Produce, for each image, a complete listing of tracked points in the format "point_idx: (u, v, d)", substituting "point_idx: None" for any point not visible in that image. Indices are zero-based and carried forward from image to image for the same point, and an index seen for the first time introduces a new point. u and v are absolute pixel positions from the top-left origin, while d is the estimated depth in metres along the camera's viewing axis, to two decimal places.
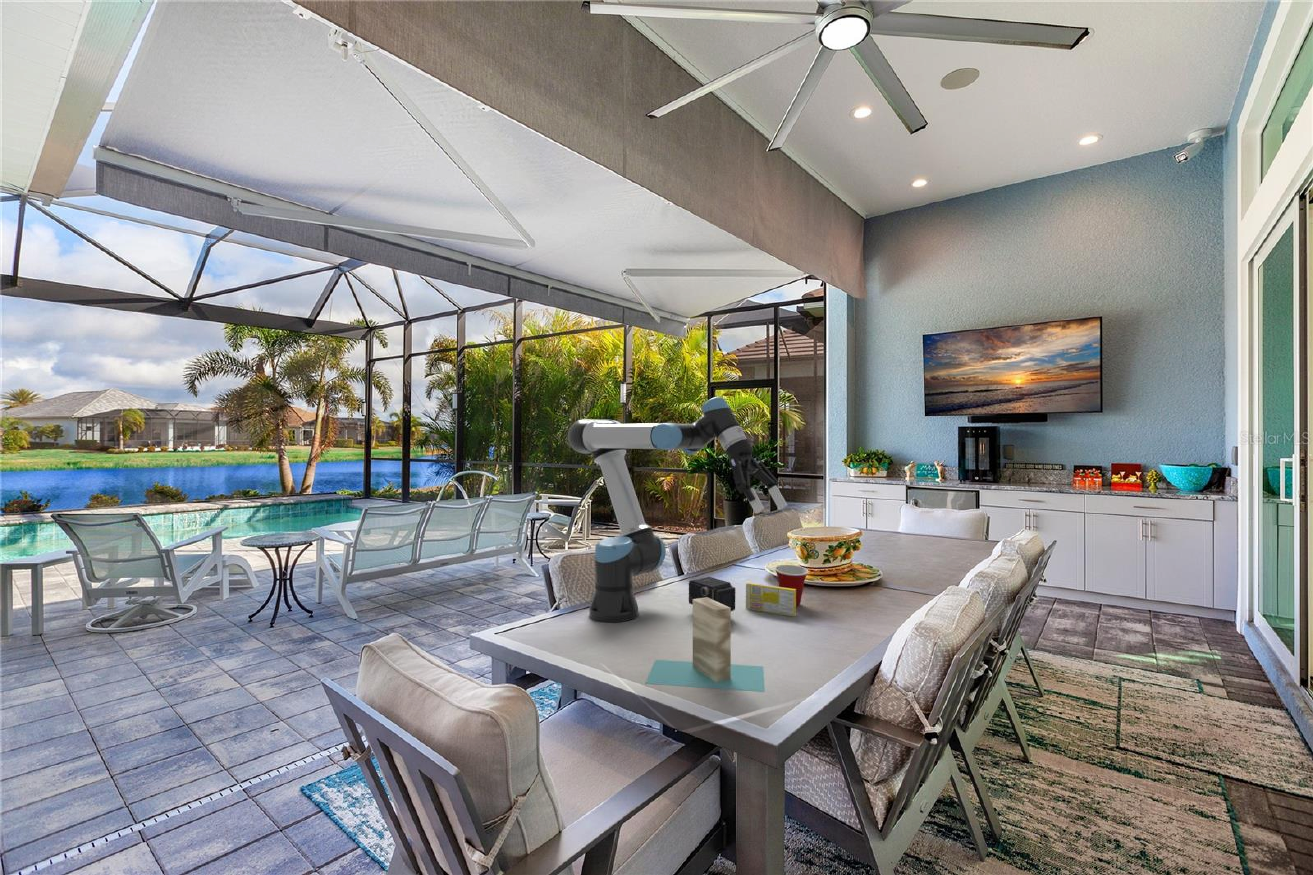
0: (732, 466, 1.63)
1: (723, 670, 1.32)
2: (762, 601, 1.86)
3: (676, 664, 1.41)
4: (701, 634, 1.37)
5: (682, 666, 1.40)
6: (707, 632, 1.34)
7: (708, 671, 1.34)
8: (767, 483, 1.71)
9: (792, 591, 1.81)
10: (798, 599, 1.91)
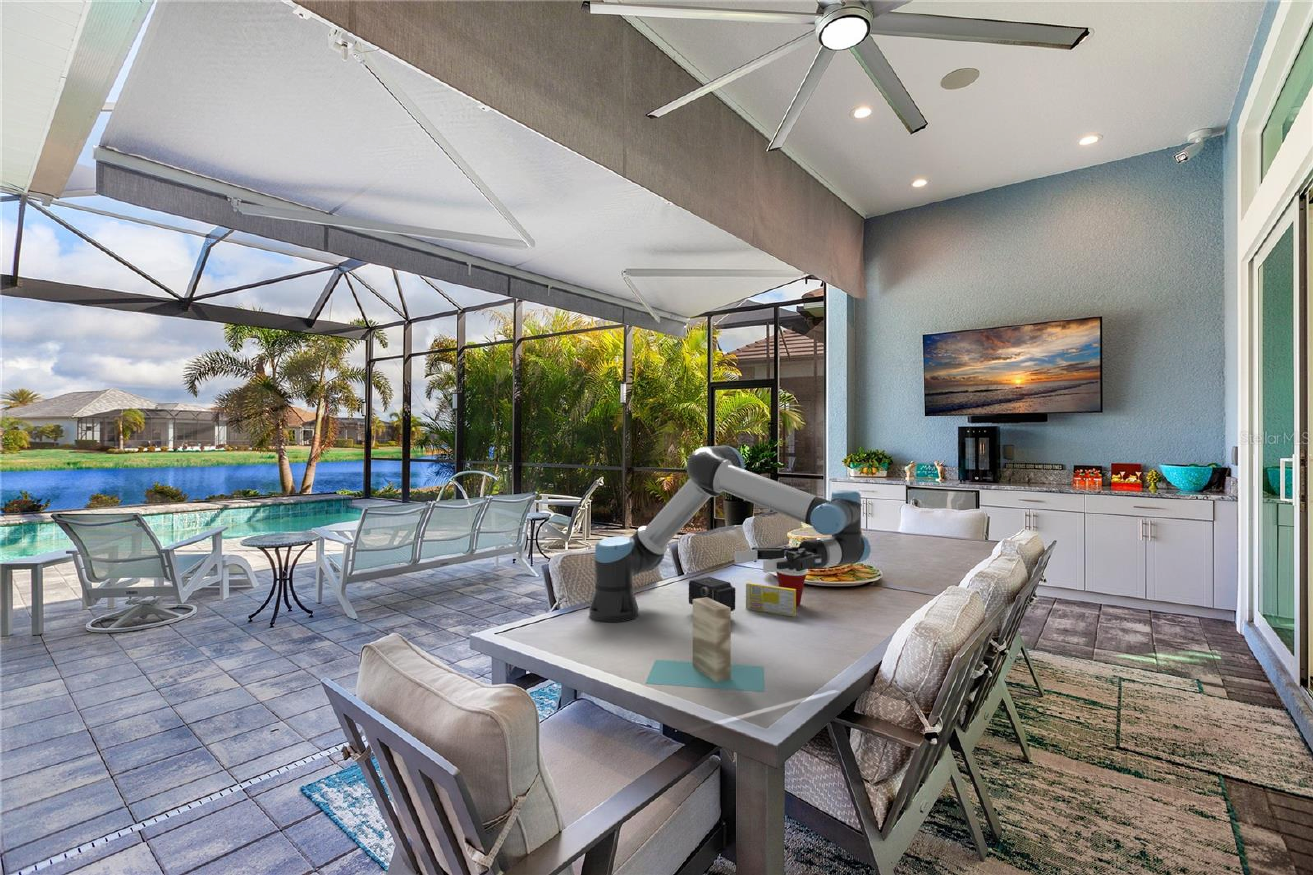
0: (815, 558, 1.43)
1: (723, 670, 1.32)
2: (762, 601, 1.86)
3: (676, 664, 1.41)
4: (701, 634, 1.37)
5: (682, 666, 1.40)
6: (707, 632, 1.34)
7: (708, 671, 1.34)
8: (763, 553, 1.50)
9: (792, 591, 1.81)
10: (798, 599, 1.91)
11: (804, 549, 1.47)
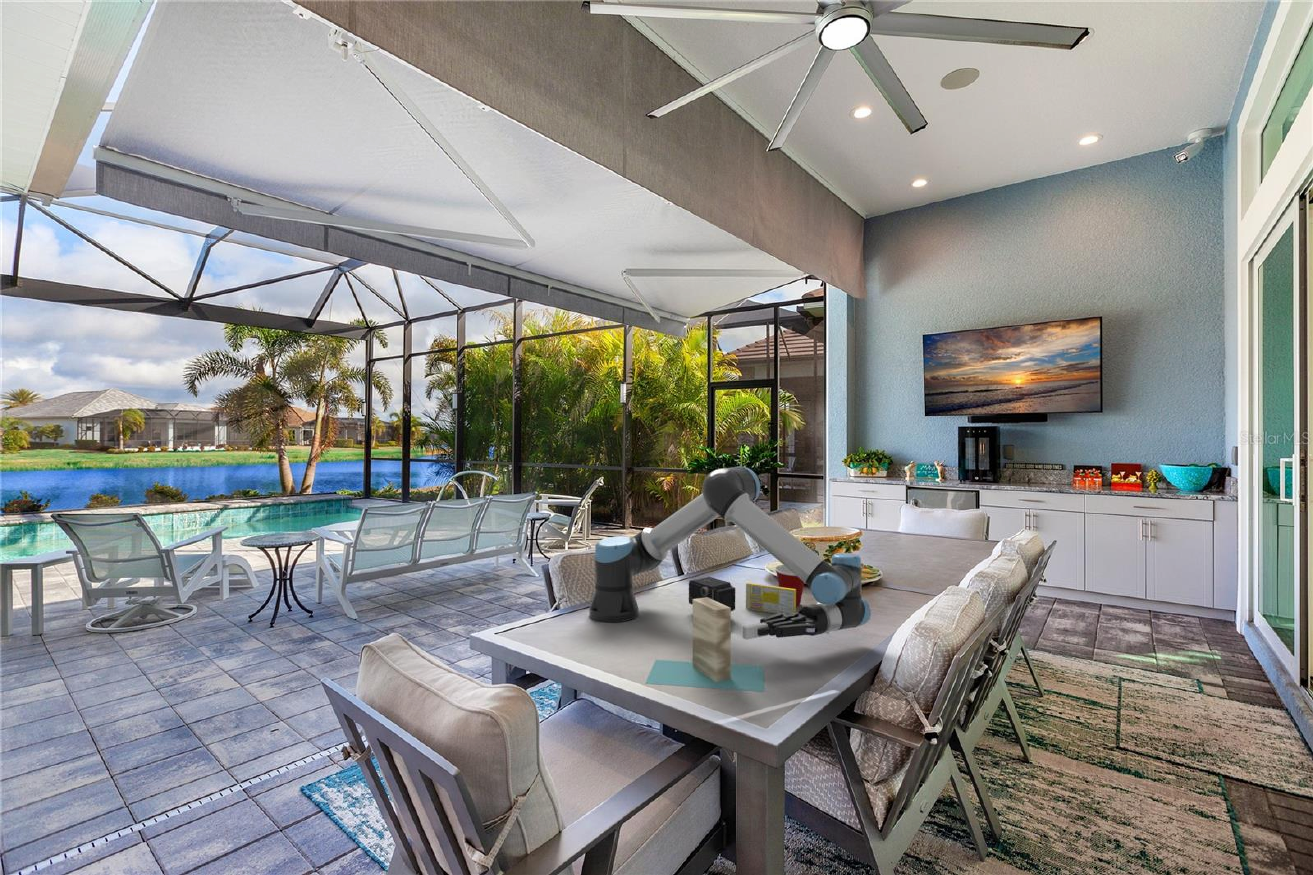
0: (806, 627, 1.43)
1: (723, 670, 1.32)
2: (762, 601, 1.86)
3: (676, 664, 1.41)
4: (701, 634, 1.37)
5: (682, 666, 1.40)
6: (707, 632, 1.34)
7: (708, 671, 1.34)
8: None
9: (792, 591, 1.81)
10: (798, 599, 1.91)
11: (802, 616, 1.47)
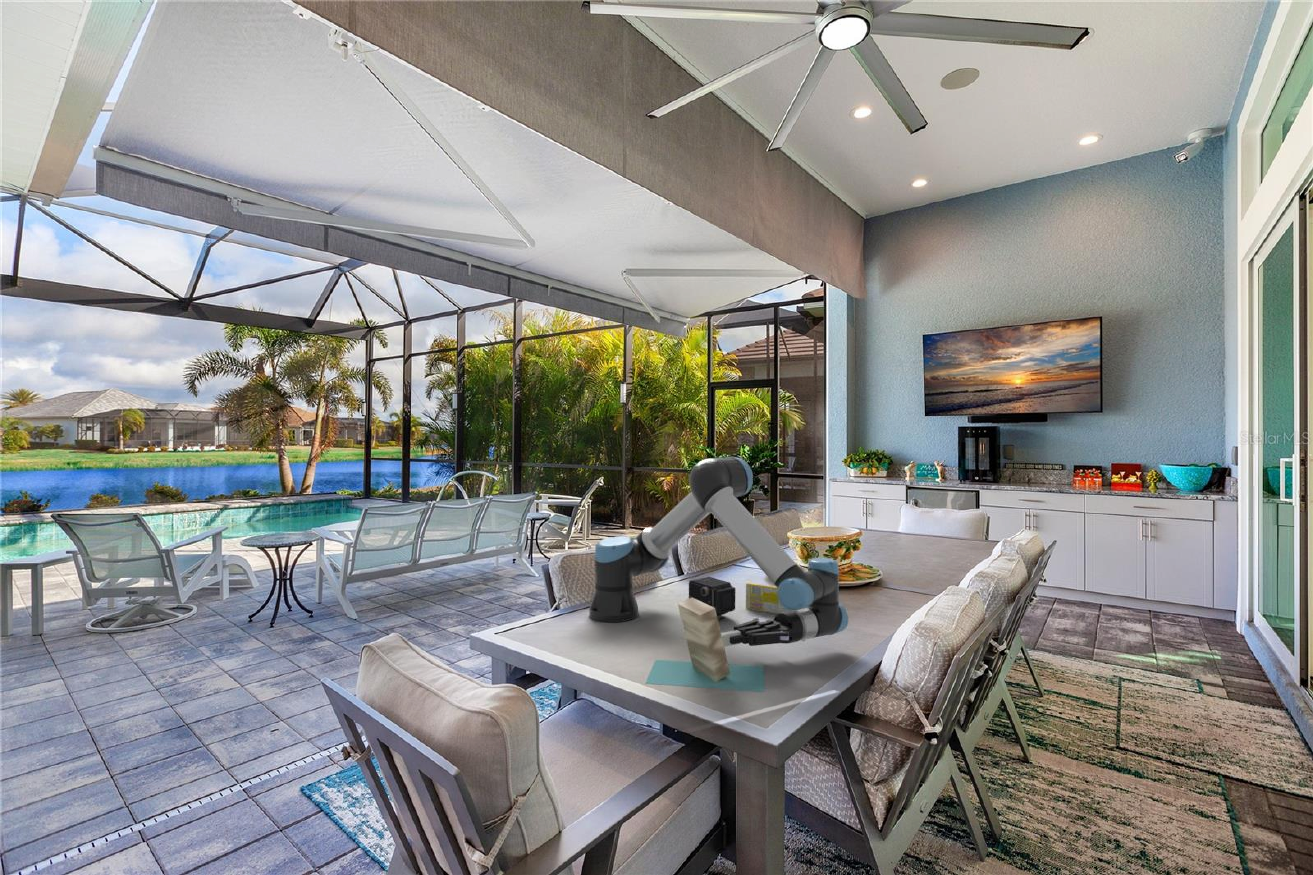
0: (780, 635, 1.39)
1: (721, 669, 1.32)
2: (762, 601, 1.86)
3: (676, 664, 1.41)
4: (693, 637, 1.35)
5: (682, 666, 1.40)
6: (698, 635, 1.33)
7: (707, 672, 1.34)
8: None
9: None
10: None
11: (777, 624, 1.43)
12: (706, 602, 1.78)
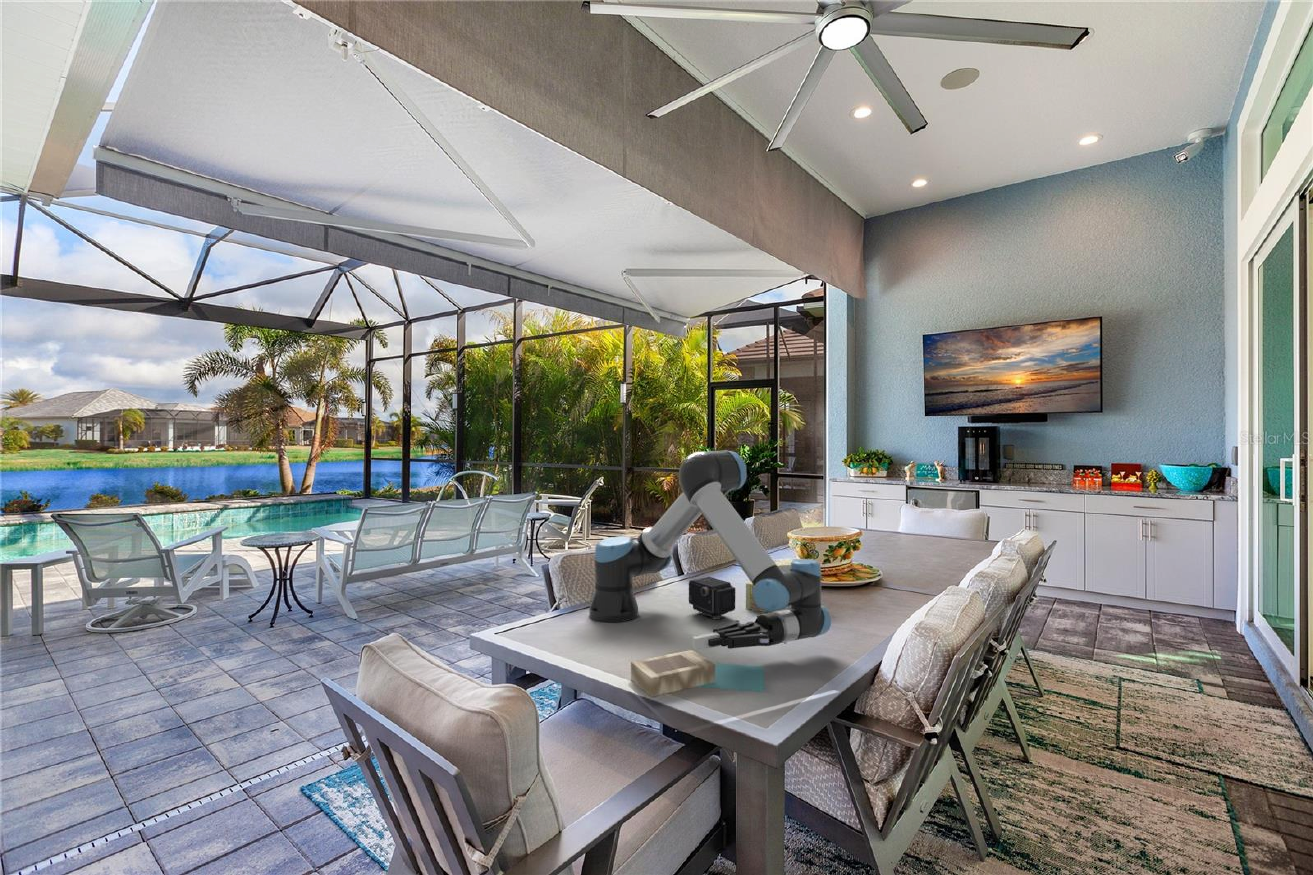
0: (760, 637, 1.37)
1: (706, 674, 1.30)
2: None
3: None
4: None
5: None
6: None
7: None
8: None
9: None
10: None
11: (757, 626, 1.41)
12: (706, 602, 1.78)
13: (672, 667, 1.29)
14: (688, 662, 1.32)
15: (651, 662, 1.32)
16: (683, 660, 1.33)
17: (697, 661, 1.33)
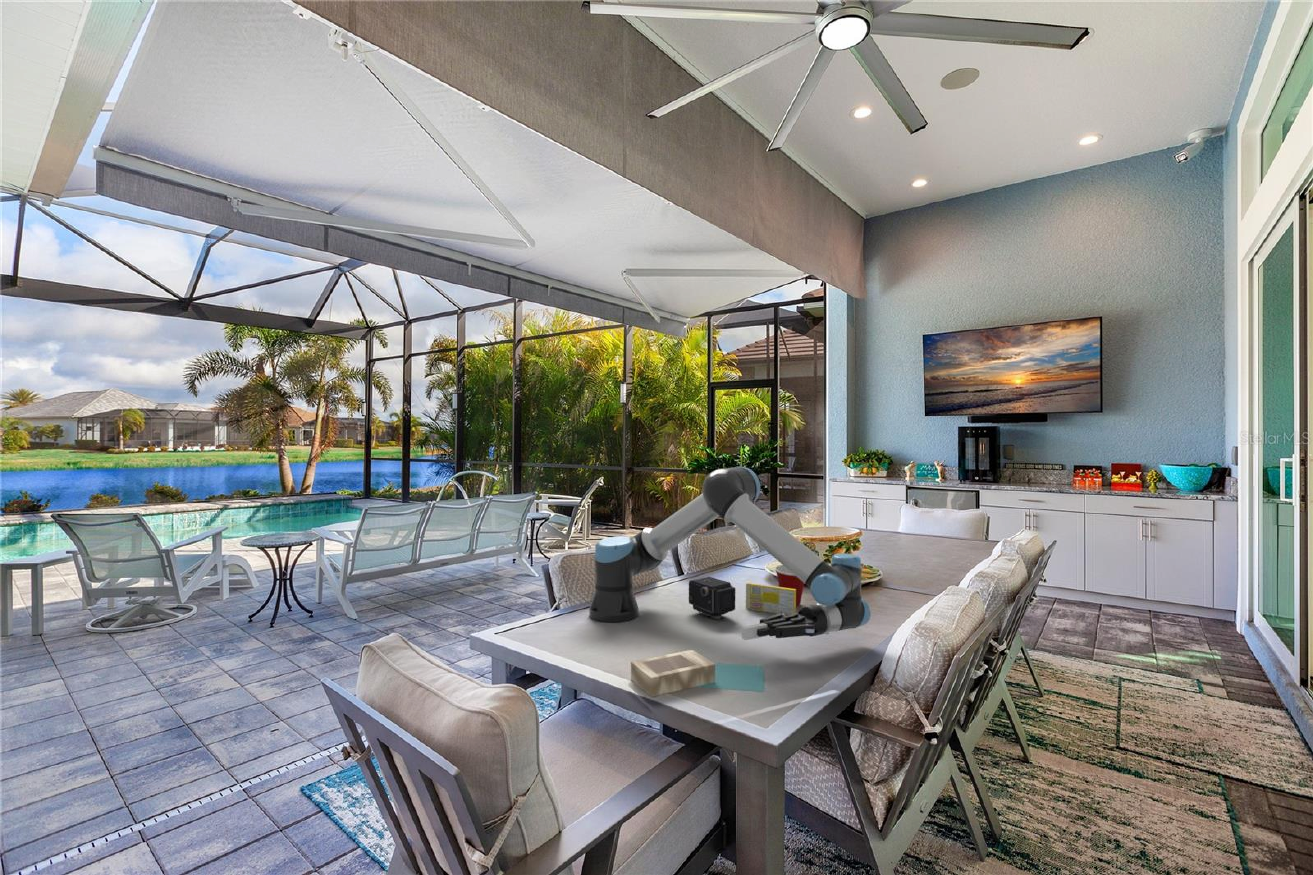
0: (806, 627, 1.43)
1: (706, 674, 1.30)
2: (762, 601, 1.86)
3: None
4: None
5: None
6: None
7: None
8: None
9: (792, 591, 1.81)
10: (798, 599, 1.91)
11: (802, 617, 1.47)
12: (706, 602, 1.78)
13: (672, 667, 1.29)
14: (688, 662, 1.32)
15: (651, 662, 1.32)
16: (683, 660, 1.33)
17: (697, 661, 1.33)
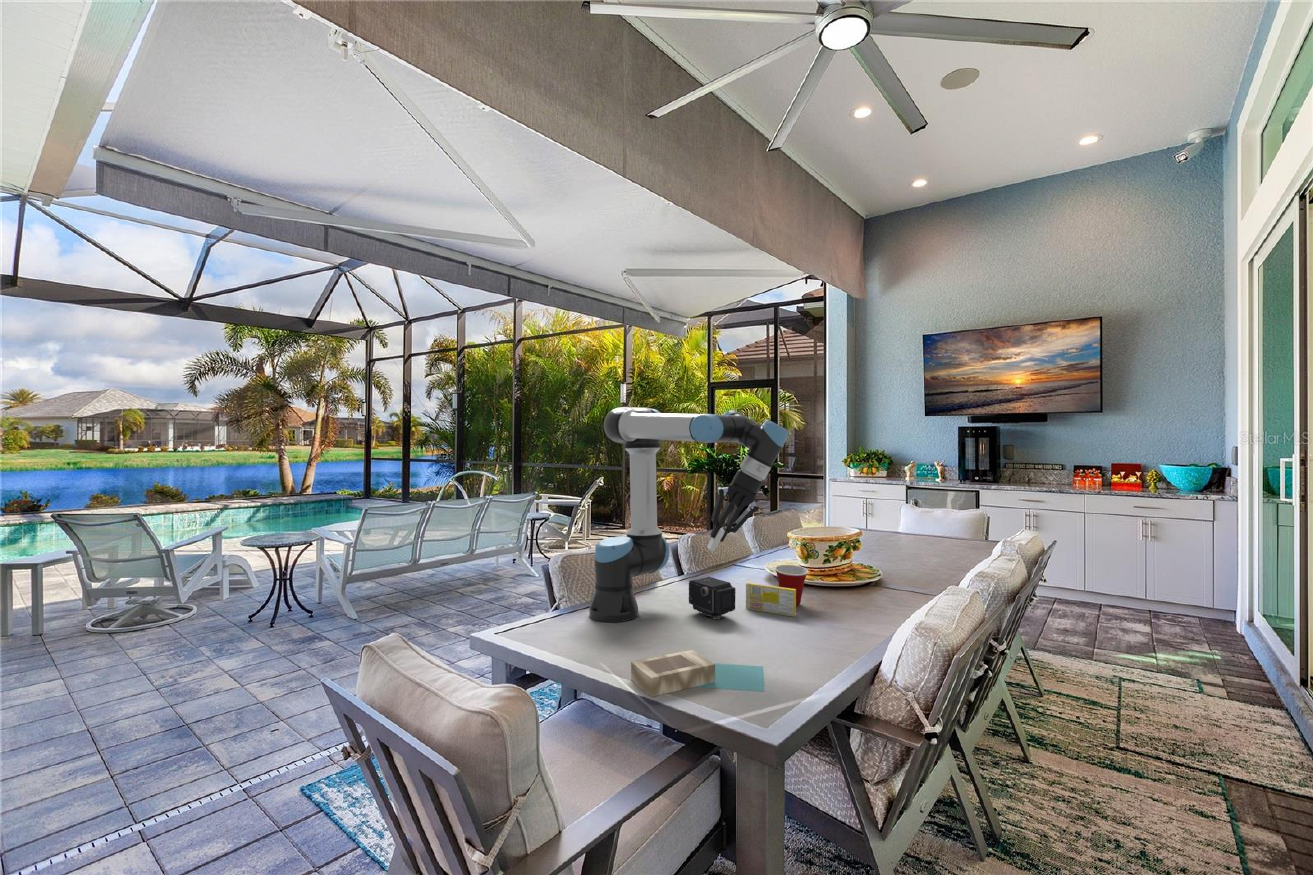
0: (718, 494, 1.61)
1: (706, 674, 1.30)
2: (762, 601, 1.86)
3: None
4: None
5: None
6: None
7: None
8: (727, 522, 1.63)
9: (792, 591, 1.81)
10: (798, 599, 1.91)
11: None
12: (706, 602, 1.78)
13: (672, 667, 1.29)
14: (688, 662, 1.32)
15: (651, 662, 1.32)
16: (683, 660, 1.33)
17: (697, 661, 1.33)
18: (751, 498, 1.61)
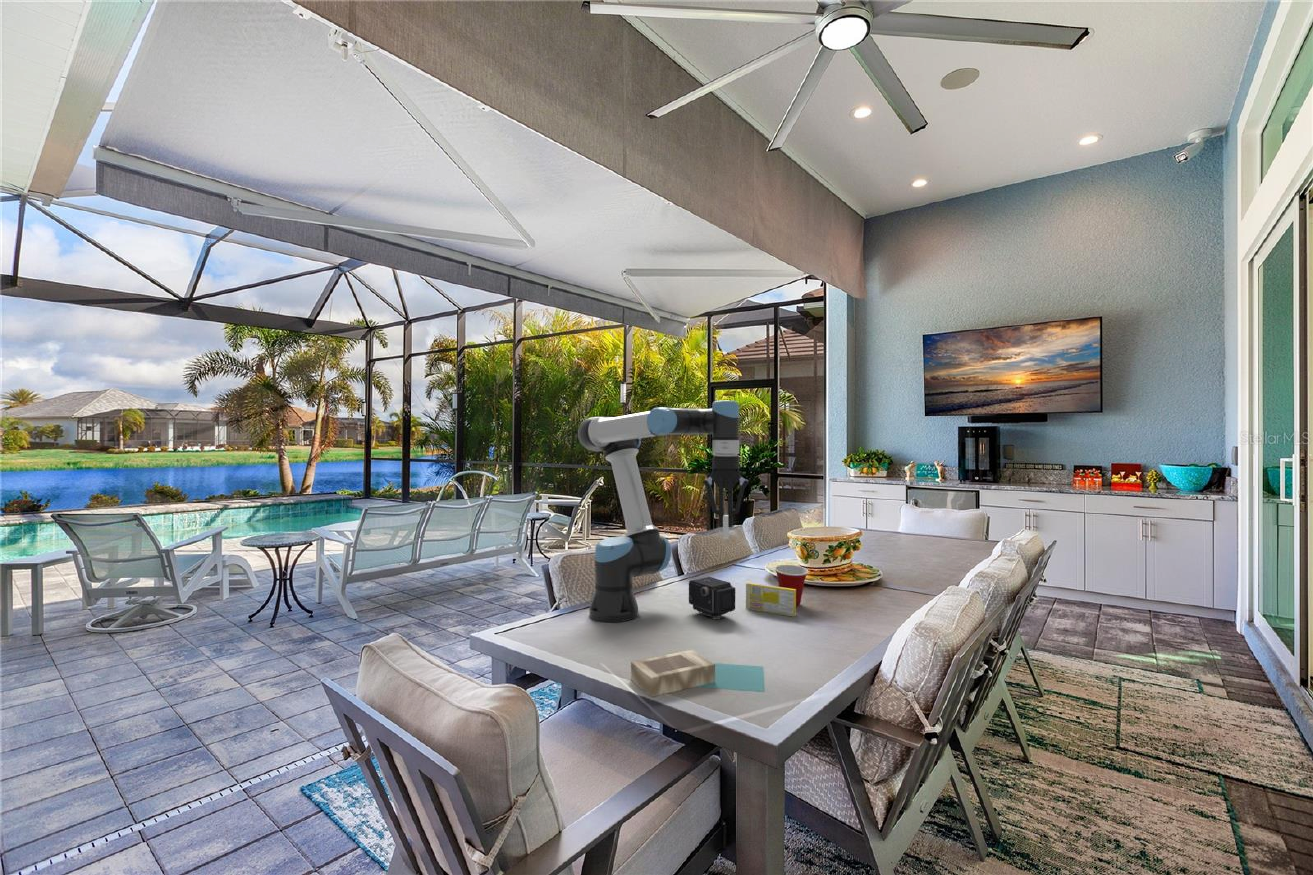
0: None
1: (706, 674, 1.30)
2: (762, 601, 1.86)
3: None
4: None
5: None
6: None
7: None
8: None
9: (792, 591, 1.81)
10: (798, 599, 1.91)
11: None
12: (706, 602, 1.78)
13: (672, 667, 1.29)
14: (688, 662, 1.32)
15: (651, 662, 1.32)
16: (683, 660, 1.33)
17: (697, 661, 1.33)
18: (736, 475, 1.65)
